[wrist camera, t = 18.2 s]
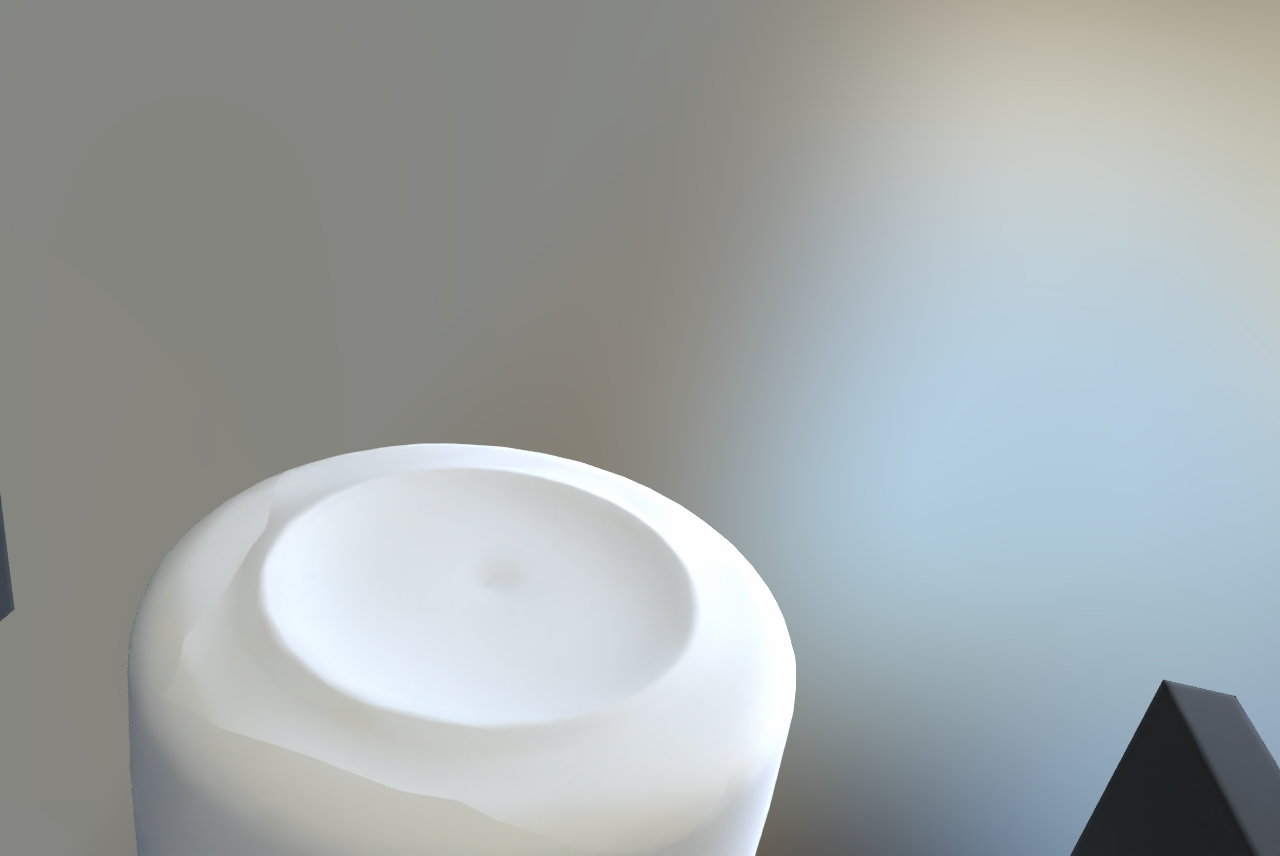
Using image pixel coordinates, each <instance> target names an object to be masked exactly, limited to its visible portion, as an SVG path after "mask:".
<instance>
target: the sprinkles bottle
mask: <svg viewBox="0 0 1280 856" xmlns="http://www.w3.org/2000/svg"><path fill="white" fill-rule="evenodd" d="M795 671H796V667H795V657H794V652H793V649H792V646H791V641H790V638H789V634H788V631H787V628H786V625H785V621H784V618H783V616H782V614H781V612H780V610H779V607H778V605H777V603H776V601H775V599H774V598H773V596H772V594H771V592H770V591H769V589H768V588H767V586H766V585H765V583H764V582H763V580H762V579H761V578H760V576H759V575H758V574H757V573H756V571H755V570H754V569H753V567H752V566H751V564H750V563H749V562H748V561H747V560H746V559H745V558H744V557H743V556H742V555H741V554H740V553H739V551H737V550H736V548H735V547H734V546H733V545H732V544H731V543H730V542H728V541H727V540H726V539H725V538H724V537H722V536H721V535H720V534H719V533H717V532H716V531H715V530H714V529H712V528H711V527H710V526H709V525H708V524H706V523H705V522H704V521H702V520H701V519H699V518H698V517H697V516H695V515H694V514H692V513H691V512H689V511H688V510H686V509H684V508H683V507H682V506H680V505H679V504H677V503H675V502H673V501H671V500H669V499H668V498H666V497H664V496H662V495H660V494H659V493H657V492H655V491H653V490H651V489H649V488H647V487H644V486H642V485H640V484H638V483H636V482H634V481H631V480H629V479H627V478H625V477H622V476H619V475H616V474H613V473H610V472H607V471H605V470H602V469H599V468H596V467H593V466H590V465H587V464H584V463H581V462H577V461H573V460H568V459H564V458H560V457H555V456H551V455H546V454H543V453H537V452H530V451H524V450H518V449H512V448H506V447H496V446H481V445H465V444H414V445H403V446H392V447H384V448H378V449H372V450H366V451H360V452H354V453H349V454H344V455H339V456H336V457H332V458H328V459H324V460H320V461H316V462H312V463H309V464H306V465H303V466H300V467H297V468H294V469H291V470H288V471H285V472H282V473H280V474H278V475H275V476H273V477H270V478H268V479H265V480H263V481H261V482H259V483H258V484H256V485H254V486H252V487H250V488H249V489H247V490H245V491H243V492H241V493H239V494H238V495H236V496H234V497H232V498H230V499H229V500H227V501H226V502H225V503H223V504H222V505H220V506H219V507H217V508H216V509H215V510H213V511H212V512H211V513H210V514H208V515H207V516H206V517H204V518H203V519H202V520H201V521H199V522H198V523H197V524H195V525H194V526H193V527H192V528H191V529H189V530H188V532H186V534H185V535H184V536H183V537H182V538H181V540H180V541H179V542H178V543H177V544H176V545H175V546H174V547H173V548H172V549H171V551H170V552H169V553H168V554H167V555H166V556H165V558H164V559H163V561H162V562H161V564H160V565H159V566H158V568H157V569H156V570H155V572H154V574H153V576H152V578H151V580H150V582H149V584H148V586H147V588H146V590H145V592H144V594H143V596H142V598H141V601H140V603H139V605H138V609H137V612H136V617H135V620H134V623H133V627H132V631H131V634H130V643H129V655H128V697H129V735H130V769H131V770H130V771H131V783H132V795H133V806H134V818H135V829H136V840H137V851H138V856H755V853H756V850H757V847H758V843H759V840H760V837H761V833H762V830H763V826H764V823H765V820H766V816H767V813H768V809H769V806H770V802H771V798H772V794H773V790H774V786H775V782H776V778H777V774H778V770H779V766H780V762H781V758H782V754H783V750H784V747H785V742H786V739H787V734H788V730H789V726H790V722H791V718H792V714H793V707H794V698H795V688H796V674H795V673H796V672H795Z"/></svg>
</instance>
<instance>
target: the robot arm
mask: <svg viewBox="0 0 1280 856" xmlns="http://www.w3.org/2000/svg"><path fill="white" fill-rule="evenodd" d="M13 610H14V603H13V594H12V586H11V578H10V570H9V562H8V554H7V546H6V538H5V529H4V521H3V513H2V505H1V497H0V621H1V620H2V619H3V618H5V617H6V616H7V615H8V614H9V613H10V612H11V611H13ZM1071 856H1280V769H1279V767H1278V765H1277V764H1276V762H1275V760H1274V759H1273V757H1272V755H1271V754H1270V752H1269V751H1268V749H1267V747H1266V745H1265V744H1264V742H1263V741H1262V739H1261V737H1260V736H1259V734H1258V732H1257V731H1256V729H1255V727H1254V726H1253V724H1252V722H1251V721H1250V719H1249V718H1248V716H1247V714H1246V713H1245V711H1244V709H1243V708H1242V706H1241V704H1240V703H1239V701H1238V700H1237V698H1236V696H1232V695H1228V694H1224V693H1219V692H1215V691H1211V690H1206V689H1202V688H1197V687H1193V686H1189V685H1184V684H1180V683H1176V682H1171V681H1167V680H1163V681H1162V683H1161V685H1160V687H1159V689H1158V691H1157V693H1156V694H1155V696H1154V698H1153V700H1152V702H1151V704H1150V706H1149V708H1148V710H1147V711H1146V713H1145V715H1144V717H1143V719H1142V721H1141V723H1140V725H1139V727H1138V728H1137V730H1136V732H1135V734H1134V736H1133V738H1132V740H1131V742H1130V744H1129V745H1128V747H1127V749H1126V751H1125V753H1124V755H1123V757H1122V759H1121V761H1120V762H1119V764H1118V766H1117V768H1116V770H1115V772H1114V774H1113V776H1112V778H1111V780H1110V781H1109V783H1108V785H1107V787H1106V789H1105V791H1104V793H1103V795H1102V797H1101V798H1100V801H1099V802H1098V804H1097V806H1096V808H1095V810H1094V812H1093V814H1092V816H1091V817H1090V819H1089V821H1088V823H1087V825H1086V827H1085V829H1084V831H1083V833H1082V835H1081V836H1080V838H1079V840H1078V842H1077V844H1076V846H1075V848H1074V850H1073V852H1072V853H1071Z"/></svg>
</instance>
